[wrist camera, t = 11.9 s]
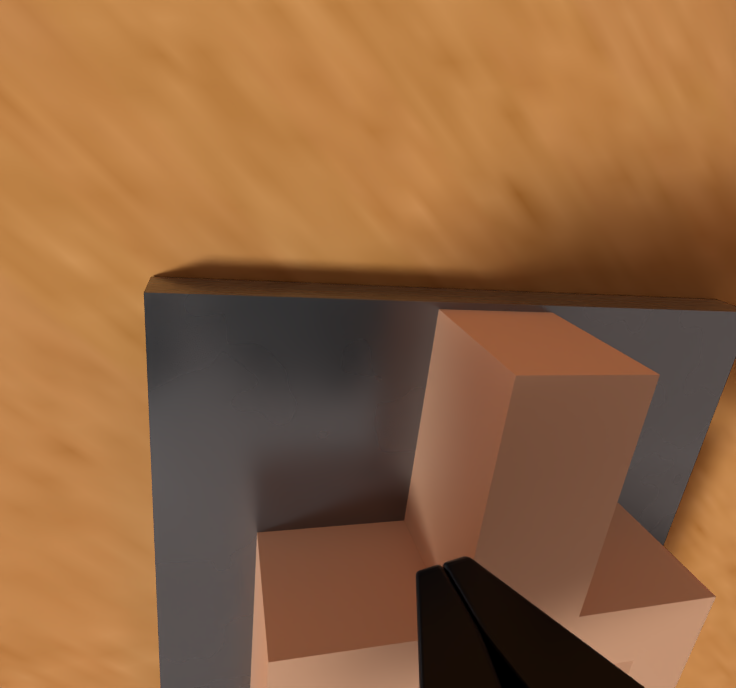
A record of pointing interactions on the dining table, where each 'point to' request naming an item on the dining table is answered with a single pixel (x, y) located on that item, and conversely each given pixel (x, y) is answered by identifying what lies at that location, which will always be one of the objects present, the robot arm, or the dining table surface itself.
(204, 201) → the dining table surface
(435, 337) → the square ring with tab
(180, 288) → the base with metal peg
